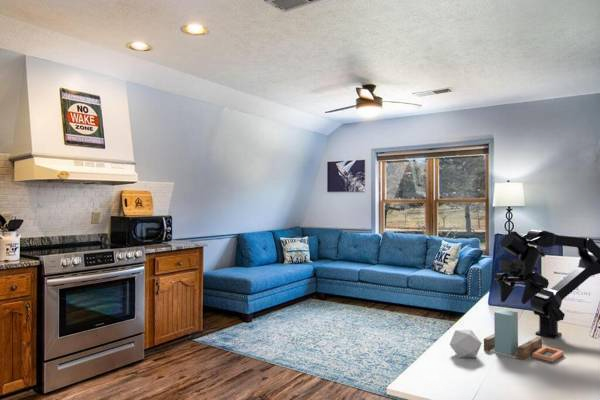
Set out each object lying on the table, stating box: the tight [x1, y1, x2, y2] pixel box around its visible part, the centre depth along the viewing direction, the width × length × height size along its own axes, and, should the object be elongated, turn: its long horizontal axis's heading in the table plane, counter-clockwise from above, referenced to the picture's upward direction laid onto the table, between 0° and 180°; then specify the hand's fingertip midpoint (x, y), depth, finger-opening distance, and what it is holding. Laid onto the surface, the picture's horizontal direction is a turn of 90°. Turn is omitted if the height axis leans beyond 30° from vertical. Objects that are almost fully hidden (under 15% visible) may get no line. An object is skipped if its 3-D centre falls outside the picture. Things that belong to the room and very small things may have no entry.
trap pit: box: [531, 345, 565, 364], centre depth 130 cm, size 9×6×2 cm, turn 129°
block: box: [493, 308, 519, 357], centre depth 134 cm, size 5×5×12 cm
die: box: [449, 329, 483, 359], centre depth 132 cm, size 8×9×10 cm
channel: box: [483, 333, 543, 361], centre depth 137 cm, size 14×12×4 cm
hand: (512, 302), depth 143 cm, fingers open, 9 cm apart
